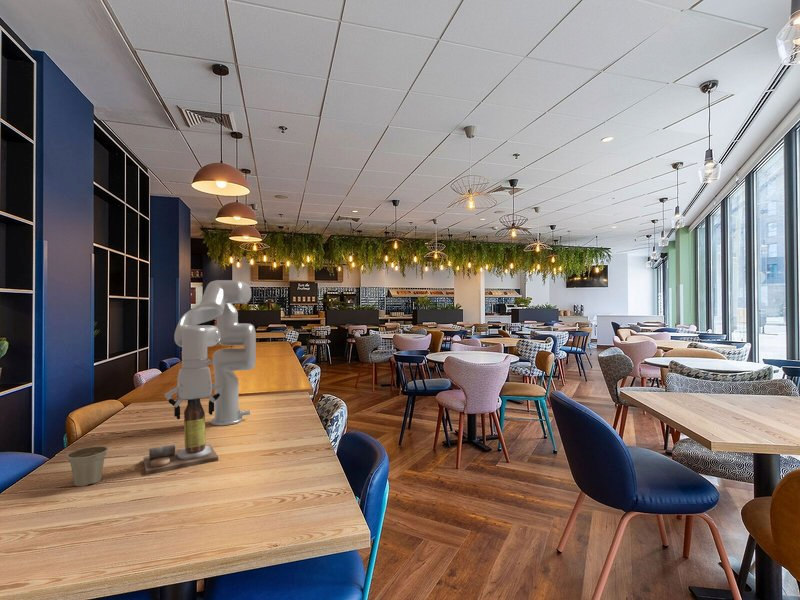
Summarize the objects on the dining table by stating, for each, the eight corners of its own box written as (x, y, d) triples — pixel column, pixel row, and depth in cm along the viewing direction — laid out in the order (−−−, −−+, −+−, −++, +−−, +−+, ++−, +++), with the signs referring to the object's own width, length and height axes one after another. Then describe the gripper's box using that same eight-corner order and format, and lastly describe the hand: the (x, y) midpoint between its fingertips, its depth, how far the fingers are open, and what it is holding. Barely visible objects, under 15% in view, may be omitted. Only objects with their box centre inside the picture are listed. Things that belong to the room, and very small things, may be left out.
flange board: (210, 448, 144) (210, 435, 145) (218, 460, 133) (218, 446, 133) (143, 460, 133) (143, 446, 133) (145, 475, 122) (145, 460, 122)
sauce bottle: (210, 448, 137) (209, 388, 137) (193, 454, 131) (193, 392, 132) (196, 446, 140) (196, 387, 140) (179, 451, 134) (179, 391, 135)
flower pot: (62, 492, 111) (62, 460, 111) (70, 479, 119) (71, 449, 119) (104, 485, 115) (104, 454, 115) (110, 473, 123) (110, 444, 123)
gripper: (220, 361, 144) (220, 410, 144) (163, 365, 134) (163, 417, 134) (225, 363, 138) (224, 414, 137) (165, 368, 128) (165, 423, 128)
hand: (194, 416), depth 136 cm, fingers open, 9 cm apart
